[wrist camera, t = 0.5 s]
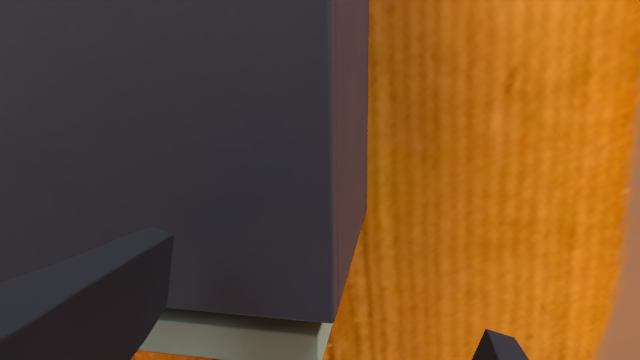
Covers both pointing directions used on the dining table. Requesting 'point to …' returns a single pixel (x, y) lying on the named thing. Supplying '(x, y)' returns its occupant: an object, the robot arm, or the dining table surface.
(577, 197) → the dining table surface
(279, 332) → the drawer
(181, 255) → the cabinet
